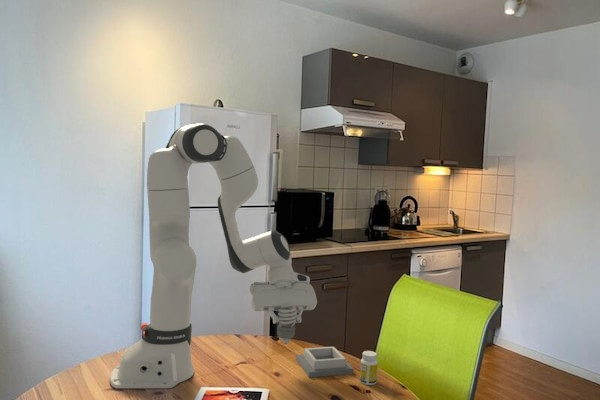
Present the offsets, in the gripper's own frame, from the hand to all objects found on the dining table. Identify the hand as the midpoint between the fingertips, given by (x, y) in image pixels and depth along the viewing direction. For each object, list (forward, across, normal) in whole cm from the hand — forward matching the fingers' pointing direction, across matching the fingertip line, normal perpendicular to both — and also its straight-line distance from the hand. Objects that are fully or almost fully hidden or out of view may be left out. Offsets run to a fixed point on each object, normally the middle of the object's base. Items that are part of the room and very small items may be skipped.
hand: (287, 322), depth 135 cm
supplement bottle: (+19, +22, +1) cm, 29 cm away
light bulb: (+4, 0, +5) cm, 7 cm away
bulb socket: (+10, +13, +10) cm, 19 cm away
